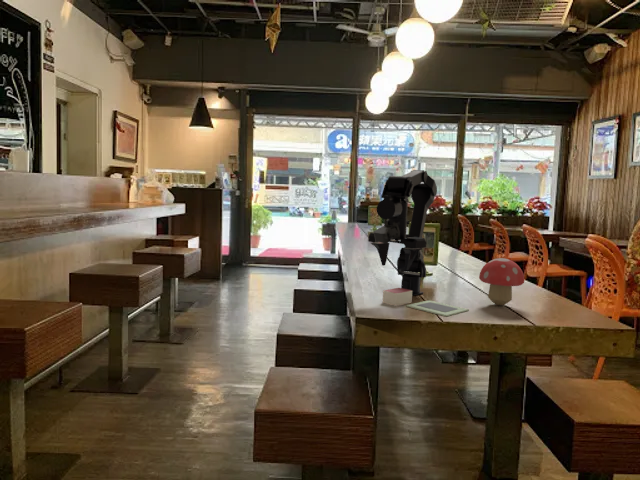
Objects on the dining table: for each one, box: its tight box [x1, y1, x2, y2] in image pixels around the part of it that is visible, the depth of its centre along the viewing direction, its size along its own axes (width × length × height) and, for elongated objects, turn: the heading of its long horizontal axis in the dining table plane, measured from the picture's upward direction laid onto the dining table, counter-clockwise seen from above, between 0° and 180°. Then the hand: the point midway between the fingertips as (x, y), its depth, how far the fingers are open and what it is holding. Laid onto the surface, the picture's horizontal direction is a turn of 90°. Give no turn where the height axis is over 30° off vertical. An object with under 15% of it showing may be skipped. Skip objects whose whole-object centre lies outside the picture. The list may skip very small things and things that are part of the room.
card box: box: [382, 287, 413, 307], centre depth 155 cm, size 8×5×4 cm, turn 134°
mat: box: [405, 300, 470, 317], centre depth 149 cm, size 12×14×1 cm
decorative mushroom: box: [478, 257, 525, 306], centre depth 157 cm, size 13×13×15 cm
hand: (394, 267), depth 154 cm, fingers open, 9 cm apart
